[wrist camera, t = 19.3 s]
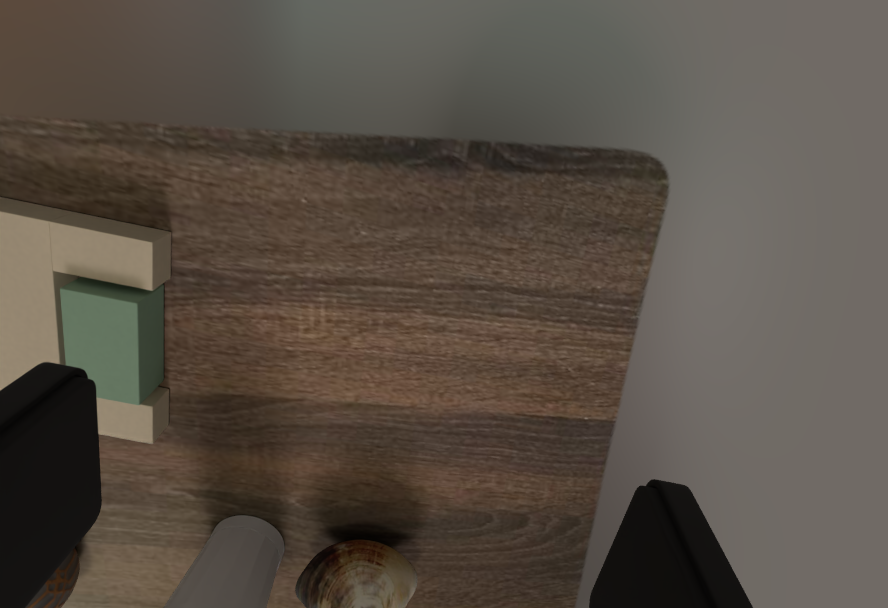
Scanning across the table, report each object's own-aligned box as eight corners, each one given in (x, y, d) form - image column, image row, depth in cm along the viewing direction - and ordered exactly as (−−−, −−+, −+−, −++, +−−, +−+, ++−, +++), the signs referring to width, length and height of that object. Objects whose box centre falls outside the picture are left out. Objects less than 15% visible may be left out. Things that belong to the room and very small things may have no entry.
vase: (-1, 543, 49) (-92, 635, 41) (46, 507, 48) (-39, 597, 40) (62, 589, 51) (-13, 685, 43) (109, 556, 50) (40, 651, 42)
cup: (274, 500, 46) (214, 634, 35) (306, 569, 49) (261, 713, 38) (187, 516, 47) (102, 652, 36) (224, 583, 50) (156, 727, 39)
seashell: (421, 525, 47) (412, 610, 40) (418, 575, 49) (410, 664, 42) (309, 518, 47) (279, 601, 40) (311, 567, 49) (284, 655, 42)
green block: (92, 269, 39) (59, 287, 36) (164, 283, 39) (137, 303, 36) (97, 367, 42) (67, 392, 39) (164, 380, 42) (139, 406, 39)
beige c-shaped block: (-9, 194, 37) (-41, 202, 35) (171, 231, 38) (152, 242, 35) (14, 395, 43) (-11, 413, 41) (169, 424, 44) (152, 444, 42)
